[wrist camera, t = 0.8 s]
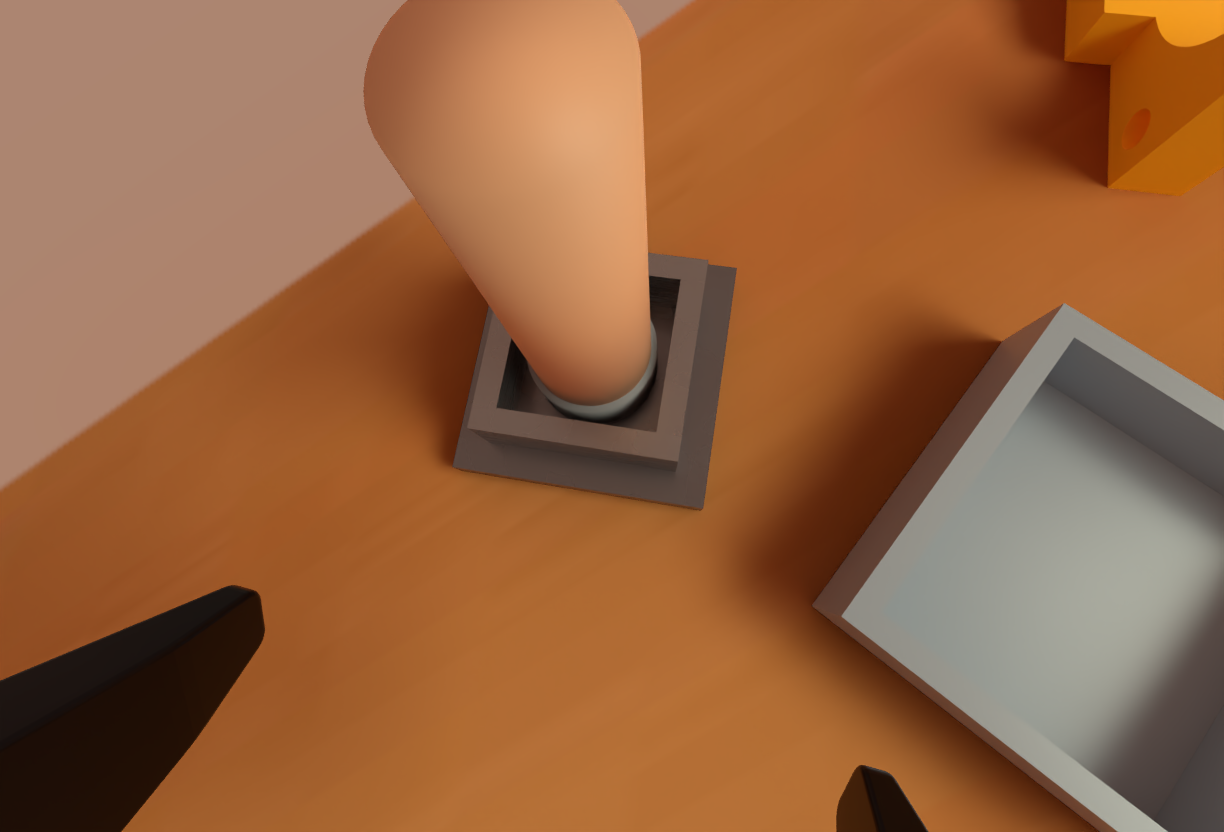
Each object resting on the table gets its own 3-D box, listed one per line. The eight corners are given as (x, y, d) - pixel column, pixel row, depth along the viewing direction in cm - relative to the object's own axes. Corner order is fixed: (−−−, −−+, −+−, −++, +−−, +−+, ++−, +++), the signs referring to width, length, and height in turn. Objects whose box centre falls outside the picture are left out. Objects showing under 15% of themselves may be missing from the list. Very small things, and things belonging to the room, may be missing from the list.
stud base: (700, 510, 22) (708, 503, 18) (461, 470, 23) (426, 456, 19) (733, 279, 24) (746, 234, 20) (509, 251, 25) (486, 203, 21)
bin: (1142, 865, 19) (1251, 935, 15) (811, 605, 21) (841, 616, 17) (1331, 550, 20) (1469, 550, 17) (1002, 341, 22) (1064, 303, 19)
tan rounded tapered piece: (647, 433, 22) (627, 231, 8) (527, 414, 22) (314, 193, 8) (665, 317, 22) (677, -42, 9) (550, 302, 23) (392, -62, 9)
